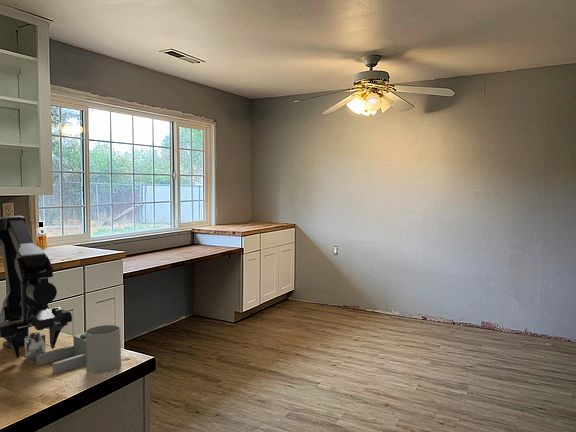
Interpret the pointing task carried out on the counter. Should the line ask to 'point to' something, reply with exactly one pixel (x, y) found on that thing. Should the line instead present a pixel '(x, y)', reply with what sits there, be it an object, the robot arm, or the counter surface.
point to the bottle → (34, 346)
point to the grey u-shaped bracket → (66, 355)
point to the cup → (103, 349)
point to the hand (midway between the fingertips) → (35, 353)
